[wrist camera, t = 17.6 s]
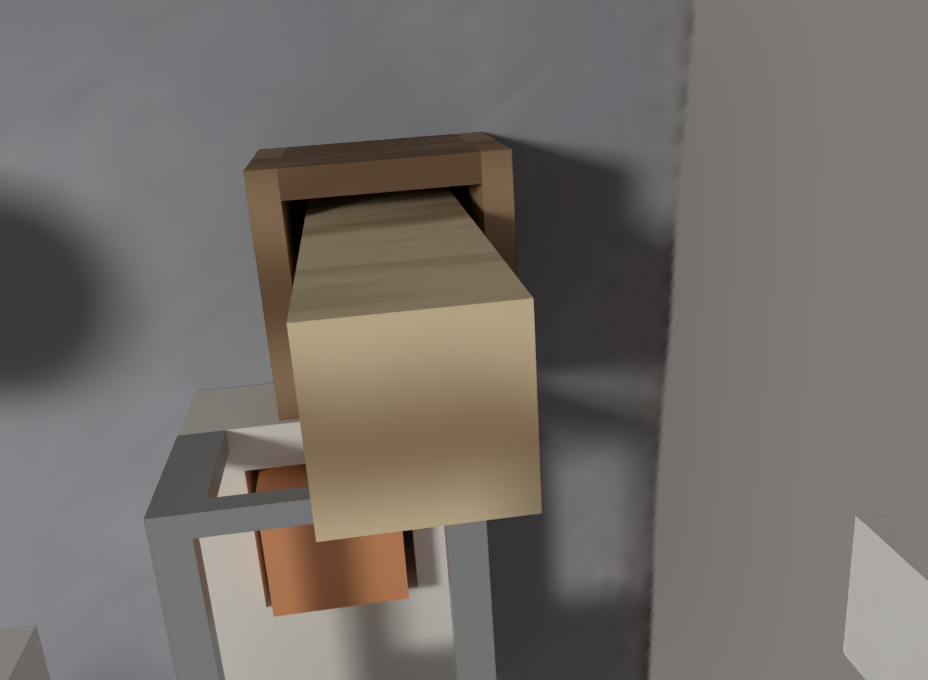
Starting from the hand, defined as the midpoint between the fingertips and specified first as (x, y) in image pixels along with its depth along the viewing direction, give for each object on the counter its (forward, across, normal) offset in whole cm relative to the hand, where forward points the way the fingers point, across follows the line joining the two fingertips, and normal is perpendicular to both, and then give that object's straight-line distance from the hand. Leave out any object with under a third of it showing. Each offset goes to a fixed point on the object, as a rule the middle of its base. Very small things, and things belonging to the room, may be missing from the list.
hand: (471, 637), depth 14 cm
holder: (+29, 0, 0) cm, 29 cm away
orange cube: (+28, -4, -12) cm, 31 cm away
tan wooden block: (+29, 0, 0) cm, 29 cm away
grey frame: (+29, -4, -16) cm, 33 cm away
